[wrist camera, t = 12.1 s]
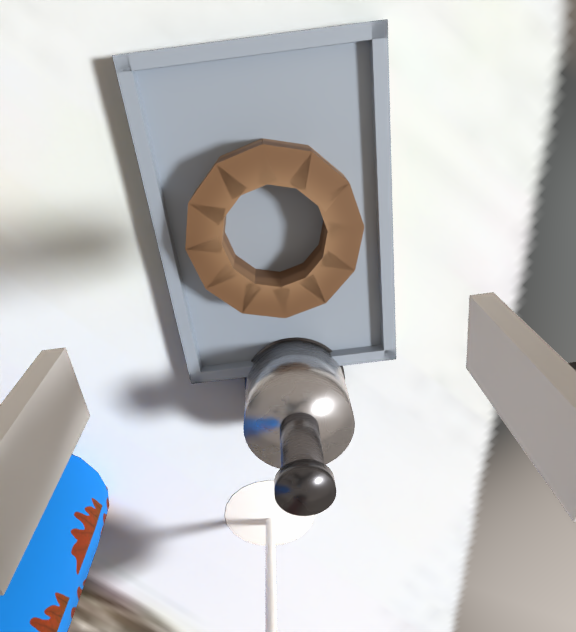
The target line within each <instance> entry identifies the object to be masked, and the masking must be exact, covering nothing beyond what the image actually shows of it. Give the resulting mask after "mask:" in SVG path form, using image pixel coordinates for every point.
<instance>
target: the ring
mask: <svg viewBox="0 0 576 632" xmlns="http://www.w3.org/2000/svg"><path fill="white" fill-rule="evenodd" d="M267 184H268V185H275V186H283V187H290V188H296V189H298V190H299V191H300V192H301V193H303V194H304V195H305V196H306V197H308V198H309V199H310V200H311V201H313V202H314V203H315V204H316V205H318V207H319V210H320V212H321V215H322V218H323V224H322V229H321V235H320V240H319V244H318V246H317V247H316V248H315V249H314V250H313V252H312V253H311V254H310V255H309V256H308V258H307V259H306V260H305V261H304V262H303V263H301V264H299V265H296V266H294V267H291V268H289V269H286V270H283V271H281V272H278V271H270V270H262V269H255V268H254V267H252V266H251V265H250V264H248V263H247V262H245V261H244V260H243V259H241V258H240V257H238V256H237V255H236V254H235V252H234V250H233V248H232V246H231V244H230V242H229V240H228V237H227V235H226V233H225V225H226V215H227V213H228V212H229V211H230V209H231V208H232V207H233V205H234V204H235V203H236V201H237V200H238V198H239V197H240V196H241V195H243V194H245V193H248V192H250V191H253V190H255V189H257V188H260V187H262V186H265V185H267ZM363 232H364V224H363V221H362V218H361V215H360V212H359V209H358V206H357V203H356V200H355V197H354V194H353V191H352V188H351V185H350V183H349V181H348V180H347V179H346V177H345V176H344V175H343V173H341V172H340V171H339V170H338V169H337V168H335V167H334V166H333V165H332V164H331V163H329V162H328V161H327V160H326V159H325V158H323V157H322V156H321V155H320V154H319V153H317V152H316V151H315V150H314V149H313V148H311V147H310V146H309V145H305V144H298V143H291V142H285V141H278V140H271V139H265V138H263V139H259V140H257V141H255V142H252V143H250V144H248V145H245V146H243V147H241V148H238V149H236V150H234V151H231V152H229V153H226V154H224V155H222V156H220V157H219V158H218V160H217V161H216V162H215V164H214V165H213V167H212V168H211V170H210V171H209V172H208V174H207V175H206V177H205V178H204V179H203V181H202V182H201V184H200V185H199V187H198V188H197V189H196V191H195V192H194V194H193V196H192V197H191V199H190V201H189V202H188V211H187V228H186V244H185V250H186V252H187V254H188V256H189V258H190V260H191V262H192V264H193V265H194V267H195V269H196V271H197V273H198V275H199V277H200V279H201V281H202V283H203V285H204V287H205V289H206V290H208V291H209V292H211V293H212V294H214V295H215V296H217V297H218V298H220V299H221V300H223V301H224V302H226V303H227V304H229V305H230V306H232V307H233V308H235V309H236V310H238V311H239V312H241V313H242V314H251V315H260V316H268V317H277V318H288V317H290V316H293V315H296V314H299V313H301V312H304V311H307V310H309V309H312V308H315V307H317V306H320V305H323V304H325V303H327V302H328V300H329V299H330V298H331V297H332V296H333V295H334V294H335V293H336V291H337V290H338V289H339V288H340V287H341V286H342V285H343V284H344V282H345V281H346V280H347V279H348V278H349V277H350V276H351V275H352V273H353V272H354V271H355V269H356V264H357V259H358V255H359V250H360V246H361V241H362V236H363Z"/></svg>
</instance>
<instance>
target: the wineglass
mask: <svg viewBox="0 0 576 632" xmlns="http://www.w3.org/2000/svg"><path fill="white" fill-rule="evenodd" d="M314 516H315V515H310V516H297V515H292V514H290V513H287V512H286V511H284V510H283V509H281V508H280V507H279V506H278V504H277V502H276V500H275V495H274V481H263V482H255V483H253V484H251V485H248V486H246V487H243V488H242V489H240V490H239V491H238V492H237V493H235V494H234V495H233V496H232V497H231V499H230V500H229V502H228V504H227V505H226V511H225V518H226V522H227V525H228V527H229V528H230V529H231V531H232V532H233V533H234V534H235V535H236V536H238V537H239V538H241V539H242V540H244V541H246V542H249V543H252V544H255V545H263V546H266V632H277V609H276V557H275V545H282V544H286V543H289V542H291V541H294V540H296V539H298V538H299V537H300V536H302V535H303V534H305V533H306V532H307V530H308V529H309V528H310V526H311V525H312V524H313V520H314Z"/></svg>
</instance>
